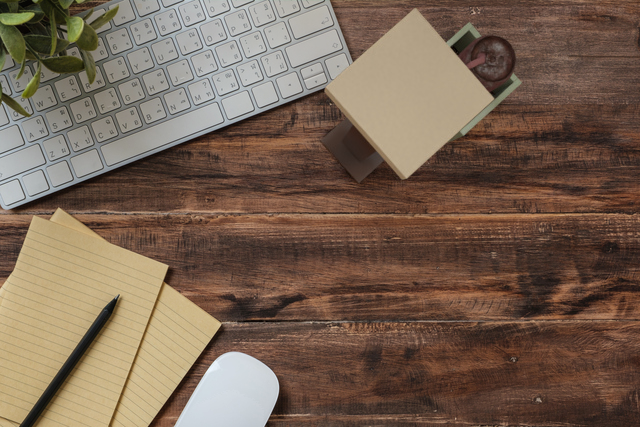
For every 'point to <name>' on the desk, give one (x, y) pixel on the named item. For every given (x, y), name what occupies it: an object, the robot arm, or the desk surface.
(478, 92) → the beige square panel
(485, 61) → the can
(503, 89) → the holder
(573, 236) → the desk surface
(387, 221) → the desk surface
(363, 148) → the post
